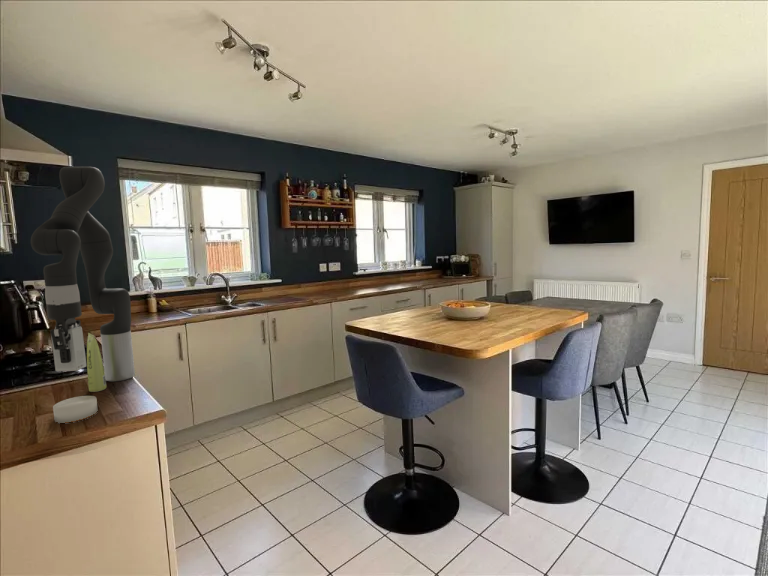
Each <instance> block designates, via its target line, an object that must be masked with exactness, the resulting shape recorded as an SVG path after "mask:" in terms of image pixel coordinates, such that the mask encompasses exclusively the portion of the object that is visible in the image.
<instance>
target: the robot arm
mask: <svg viewBox="0 0 768 576" xmlns="http://www.w3.org/2000/svg"><path fill="white" fill-rule="evenodd" d="M58 174H59V175H58V176H59V181H60V185H61V188H62V192H63V194H64V197H65V199H63V200H62V201H61V202H59V203H58V204H57V205H56V207H55V208H54V210H53V212H52V214H51V217H50V218H49V219H47V220H45V222H43V223H42V224H41V225H40V226H38V227H37V228H36V229H35V230H34V231H33V233H32V234H31V237H30V246H31V248H32V250H33V251H34V252H35V253H37V254H39V255H41V256H62V258H61V260H60V261H59V262H55V263H51V264H47V265H45V266H43V280H44V285H45V286H44V287H45V288H44V296H45V298H44V299H45V304H46V312H47V314H46V315H47V319H48V320H52V321H53V320H54V321H55V326H54V329H50V337H51V336H52V338H51V341H52V340H53V345H54V349H55V350H59V351H60V360H61V363H69V362H70V361H71V354H70V341H71V334H68V330H70V329H73V328H74V327H82V326H81V320H80V319H76V318H80V317H81V316H82V313H83V312H82V304H81V295H80V290H79V286H78V279H77V278H78V277H77V263H78V257H79V254H80V255H81V258H82V262H83V264H84V265H83V266H84V269H85V273H86V279H87V284H88V285H87V287H88V293H89V294H88V295H89V300H90V304H91V305H90V306H91V308H92V309H93V311H94V312H95V313H96V314H98V315H113V319H112V320H111V321H110V322H107V323H103V324H102V325H101V326H100V327H99V332H100V340H101V341H100V342H101V349H102V351H101V352H102V358H103V359H102V362H103V367H104V373H105V379H106V382H121V381H125V380H129V379H131V378H133V377H135V375H136V373H135V371H136V370H135V362H134V361H135V359H134V349H133V340H132V330H131V326H132V325H131V324H132V305H131V304H132V303H131V302H132V301H131V297H130V293H129V291H128V290H127V289H125V288H119V287H118V288H107V286H106V283H105V282H106V280H105V274H106V271H107V269H108V267H109V265H110V263H111V261H112V257H113V255H114V248H113V244H112V239H111V234H110V233H109V231H108V229H107V228H105V226H103V225H102V223H101V222H100V221H98V219H97V218H95V217H94V215H92V214H91V213H90V211H89V210H90V209H91V208H92V207H93V206H94V204H95V203H96V202H97V201H98V199H99V198H101V196H102V194H103V193H104V192H105V191H104V190H105V189H106V188H105V185H106V183H105V178H104V175H103V173H102V171H101V170H100V169H99V168H97V167H95V166H63V167H61V168H60V170H59V173H58ZM67 335H68V338H65V337H66V336H67ZM57 342H58V343H57ZM61 344H62V345H61Z"/></svg>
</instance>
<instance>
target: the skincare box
mask: <svg viewBox="0 0 768 576" xmlns="http://www.w3.org/2000/svg"><path fill="white" fill-rule="evenodd" d="M68 334H71V341H70V354H71V361H70V362H69V363H61V360H60V351H59V350H55V349H54V345H53V340H52V336H51V335H50V338H51V344H52V345H51V346H52V352H53V353H52V354H53V360H54V362H53V363H54V368H55V372H73V371H74V372H76V371H79V370H81V369H82V370H83V368H87V355H86V350H85V348H86V347H85V342H84V334H83V328H82V326H81V327H74V328H73V329H70V330H68ZM65 338H68V335H67V336H66V337H65ZM57 343H58V342H57ZM61 345H62V344H61Z"/></svg>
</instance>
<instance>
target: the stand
mask: <svg viewBox="0 0 768 576" xmlns="http://www.w3.org/2000/svg"><path fill="white" fill-rule="evenodd" d="M52 410H53V419H54V423H56V422H58V423H57V424H60V423H65V422H71V421H76V420H79V419H83V418H86V417H88V416H91V415H93V414H95V413H96V412H97V411H98V412H99V409H98V401H97V396H94V395H81V396H74V397H70V398H67V399H63V400H61V401H58V402H56V403H55V404H54V405H53V406H52ZM98 412H97V413H98ZM97 413H96V414H97ZM96 414H95V415H96ZM65 424H66V423H65Z"/></svg>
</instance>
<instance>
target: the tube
mask: <svg viewBox="0 0 768 576" xmlns="http://www.w3.org/2000/svg"><path fill="white" fill-rule="evenodd" d="M87 334H88V336H87V341H86V364H87V366H86V368H87V369H86V371H87V383H88V391H89V392H90V393H92V392H93V393H98V392H101V391H104V390H105V389H107V387H108V386H107V381H106V379H105V371H104V361H103V359H102V358H103V357H102V355H101V350H100V347H99V344H98V341H97V339H96V338H95V335H94V334H92V333H90V332H88V333H87Z"/></svg>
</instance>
